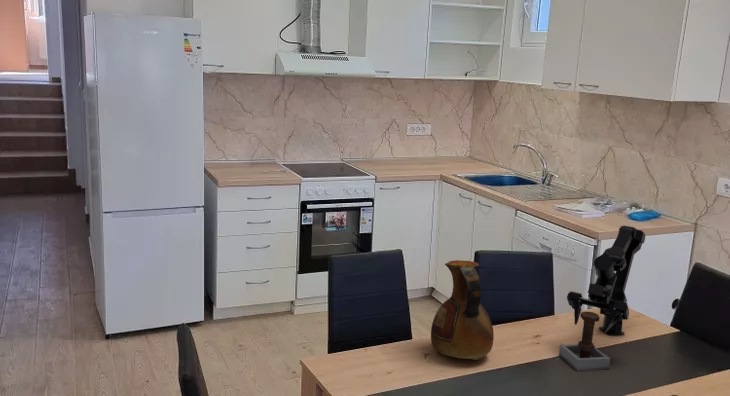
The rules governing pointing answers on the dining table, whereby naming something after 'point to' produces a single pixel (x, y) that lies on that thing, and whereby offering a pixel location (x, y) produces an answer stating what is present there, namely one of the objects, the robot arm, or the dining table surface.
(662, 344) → the dining table surface
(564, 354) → the socket block
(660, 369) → the dining table surface
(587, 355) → the bolt
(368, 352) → the dining table surface
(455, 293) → the ceramic pitcher
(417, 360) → the dining table surface
